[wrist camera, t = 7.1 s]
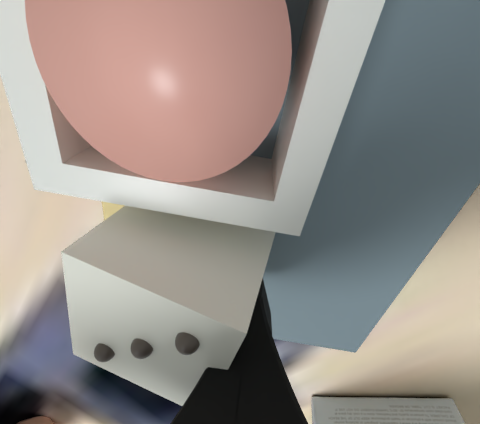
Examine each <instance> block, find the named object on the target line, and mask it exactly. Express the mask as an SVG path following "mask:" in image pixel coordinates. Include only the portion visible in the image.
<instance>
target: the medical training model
mask: <svg viewBox="0 0 480 424" xmlns="http://www.w3.org/2000/svg"><path fill="white" fill-rule="evenodd" d="M17 424H55V423H54V422H53V421H52V420H51V419H50V418H48V417H45V416H39V417H32V418H29V419H26V420H23V421H20V422H18V423H17Z"/></svg>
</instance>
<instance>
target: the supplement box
mask: <svg viewBox="0 0 480 424" xmlns="http://www.w3.org/2000/svg"><path fill="white" fill-rule="evenodd" d="M312 424H465V422H464V420H463V418H462V416H461V414H460V412H459V410H458V408H457V407H456V405H455V403H454V401H453V399H452V398H372V397H317V396H315V397H312Z"/></svg>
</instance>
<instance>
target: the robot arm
mask: <svg viewBox="0 0 480 424" xmlns="http://www.w3.org/2000/svg"><path fill="white" fill-rule="evenodd" d="M171 424H308V423H307V420H306V418H305V416H304V414H303V412H302V410H301V408H300V405H299V403H298V401H297V399H296V396H295V394H294V392H293V389H292V387H291V385H290V382H289V380H288V377H287V375H286V372H285V370H284V367H283V365H282V362H281V359H280V357H279V354H278V351H277V348H276V346H275V343H274V340H273V337H272V322H271V311H270V307H269V302H268V298H267V294H266V289H265V285H264V280H263V278H262V282H261V285H260V289H259V292H258V296H257V300H256V303H255V307H254V310H253V314H252V317H251V321H250V324H249V328H248V331H247V334H246V336H245V338H244V340H243V342H242V344H241V346H240V348H239V350H238V352H237V353H236V355H235V357H234V359H233V361H232V363H231V365H230V367H229V369H228V370H226V369H219V368H212V367H208V368H206V369H205V371H204V372H203V374H202V376H201V378H200V379H199V381H198V383H197V384H196V386H195V387H194V389H193V391H192V392H191V394H190V395H189V397H188V398H187V400H186V401H185V403H184V404H183V406H182V408H181V409H180V411H179V412H178V414H177V415H176V416H175V418H174V419H173V421H172V422H171Z"/></svg>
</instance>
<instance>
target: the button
mask: <svg viewBox="0 0 480 424" xmlns="http://www.w3.org/2000/svg"><path fill="white" fill-rule="evenodd" d="M25 13H26V23H27V29H28V34H29V40H30V44H31V47H32V51H33V54H34V58H35V61H36V64H37V66H38V69H39V71H40V74H41V76H42V79H43V81H44V83H45V85H46V87H47V89H48V91H49V93H50V95H51V97H52V98H53V100H54V101H55V103H56V105H57V106H58V108H59V109H60V111H61V112H62V114H63V115H64V116H65V118H66V119H67V120H68V122H69V123H70V124H71V125H72V127H73V128H74V129H75V130H76V131H77V132H78V133H79V134H80V135H81V136H82V138H83V139H85V140H86V141H87V142H88V143H89V144H90V145H91V146H92V147H93V148H94V149H96V150H97V151H98V152H100V153H101V154H102V155H104V156H105V157H106V158H108V159H109V160H111V161H113V162H114V163H116V164H118V165H119V166H121V167H123V168H125V169H127V170H129V171H131V172H133V173H136V174H139V175H142V176H145V177H148V178H152V179H156V180H161V181H169V182H192V181H200V180H204V179H208V178H212V177H214V176H217V175H219V174H222V173H225V172H226V171H228V170H230V169H232V168H233V167H235V166H237V165H238V164H240V163H241V162H242V161H244V160H245V159H246V158H248V157H249V156H250V155H251V154H252V153H253V152H254V151H255V150H256V149H257V148H258V147H259V145H260V144H261V143H262V142H263V140H264V139H265V138H266V136H267V135H268V133H269V132H270V130H271V128H272V127H273V125H274V123H275V122H276V119H277V117H278V115H279V112H280V110H281V108H282V105H283V102H284V99H285V95H286V92H287V88H288V83H289V77H290V71H291V56H292V44H291V28H290V22H289V16H288V10H287V5H286V2H285V0H25Z"/></svg>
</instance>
